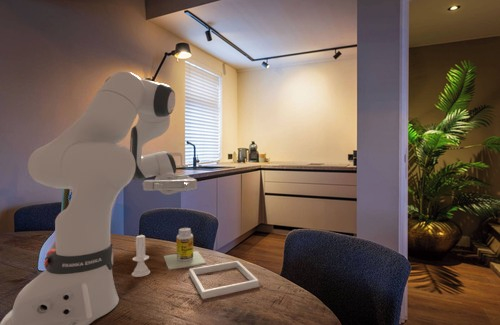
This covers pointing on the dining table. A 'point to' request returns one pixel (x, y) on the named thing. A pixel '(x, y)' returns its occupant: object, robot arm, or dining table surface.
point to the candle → (140, 258)
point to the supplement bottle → (184, 244)
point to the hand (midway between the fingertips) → (173, 186)
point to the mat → (175, 264)
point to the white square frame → (223, 290)
